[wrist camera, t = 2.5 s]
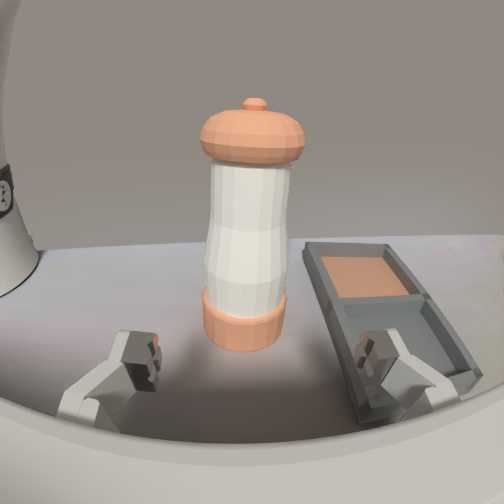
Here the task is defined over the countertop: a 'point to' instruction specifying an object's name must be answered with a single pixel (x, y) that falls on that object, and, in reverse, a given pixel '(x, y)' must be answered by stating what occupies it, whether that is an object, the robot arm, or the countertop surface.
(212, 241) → the salt shaker
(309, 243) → the tray
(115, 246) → the countertop surface
